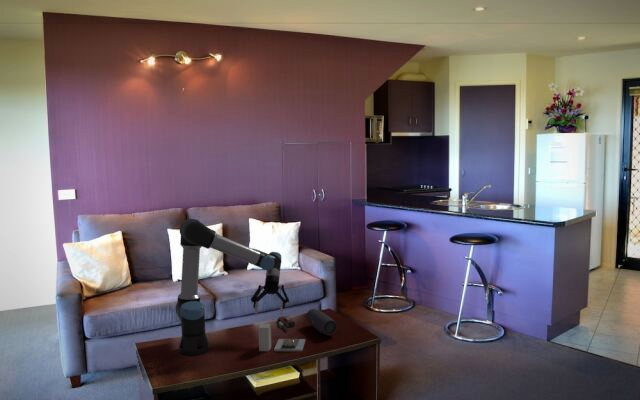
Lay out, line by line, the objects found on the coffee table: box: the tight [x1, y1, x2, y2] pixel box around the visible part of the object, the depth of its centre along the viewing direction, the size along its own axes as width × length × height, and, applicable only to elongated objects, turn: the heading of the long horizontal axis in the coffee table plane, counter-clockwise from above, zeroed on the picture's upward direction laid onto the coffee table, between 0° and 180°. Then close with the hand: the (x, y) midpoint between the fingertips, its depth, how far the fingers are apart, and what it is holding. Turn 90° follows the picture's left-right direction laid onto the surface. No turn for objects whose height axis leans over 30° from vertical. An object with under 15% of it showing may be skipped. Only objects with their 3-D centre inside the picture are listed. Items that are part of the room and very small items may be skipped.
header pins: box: [281, 340, 296, 348], centre depth 262 cm, size 7×2×4 cm, turn 85°
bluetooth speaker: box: [305, 308, 338, 336], centre depth 287 cm, size 23×9×10 cm, turn 25°
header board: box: [273, 338, 306, 352], centre depth 267 cm, size 14×14×1 cm
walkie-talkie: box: [277, 315, 296, 332], centre depth 297 cm, size 9×4×20 cm
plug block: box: [258, 323, 272, 352], centre depth 264 cm, size 5×6×12 cm
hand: (268, 313), depth 273 cm, fingers open, 13 cm apart
